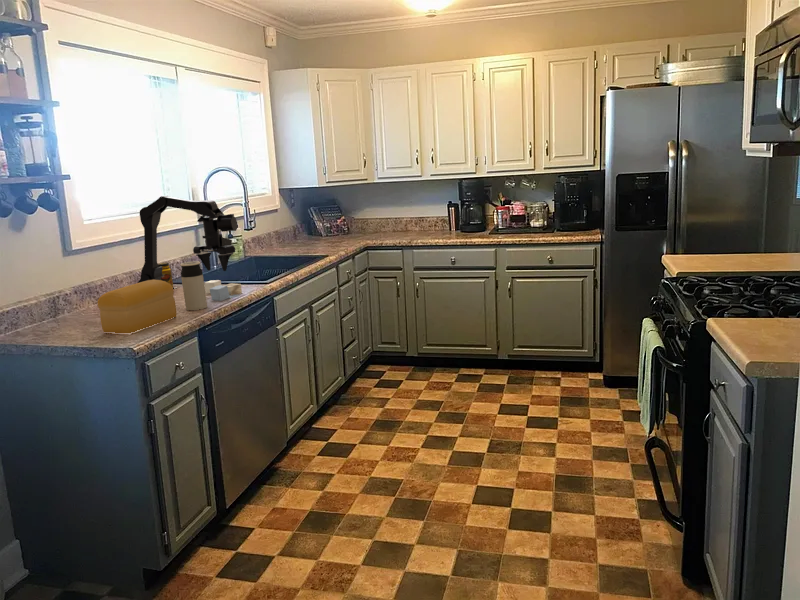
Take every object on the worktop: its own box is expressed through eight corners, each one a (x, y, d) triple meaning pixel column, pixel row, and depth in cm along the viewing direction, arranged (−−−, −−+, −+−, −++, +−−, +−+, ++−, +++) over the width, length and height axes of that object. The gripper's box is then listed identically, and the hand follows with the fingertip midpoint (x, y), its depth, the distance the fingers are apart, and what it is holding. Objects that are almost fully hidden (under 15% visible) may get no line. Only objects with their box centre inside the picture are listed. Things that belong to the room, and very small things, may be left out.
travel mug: (201, 310, 255) (194, 264, 251) (182, 311, 256) (175, 265, 253) (211, 306, 262) (204, 260, 258) (192, 306, 264) (185, 261, 260)
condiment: (165, 291, 302) (161, 265, 299) (153, 290, 306) (148, 264, 303) (178, 287, 308) (174, 262, 305) (165, 287, 312) (161, 261, 309)
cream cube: (215, 294, 286) (214, 282, 285) (205, 294, 288) (204, 282, 287) (222, 291, 291) (220, 280, 290) (212, 291, 293) (210, 280, 292)
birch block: (231, 296, 278) (230, 287, 277) (221, 295, 281) (220, 286, 281) (242, 293, 283) (240, 284, 282) (232, 292, 286) (230, 283, 285)
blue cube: (220, 301, 270) (218, 289, 269) (212, 300, 273) (209, 288, 271) (229, 297, 274) (227, 285, 273) (221, 296, 277) (218, 285, 275)
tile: (229, 298, 273) (229, 297, 273) (222, 298, 275) (222, 297, 275) (240, 295, 278) (240, 294, 278) (233, 295, 280) (233, 294, 280)
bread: (151, 316, 253) (144, 277, 249) (178, 317, 248) (172, 277, 245) (101, 334, 231) (94, 291, 227) (130, 335, 226) (123, 292, 223)
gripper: (243, 229, 269) (247, 267, 272) (210, 229, 279) (215, 266, 282) (222, 233, 260) (227, 272, 263) (189, 233, 270) (195, 271, 273)
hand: (216, 270), depth 271 cm, fingers open, 9 cm apart
